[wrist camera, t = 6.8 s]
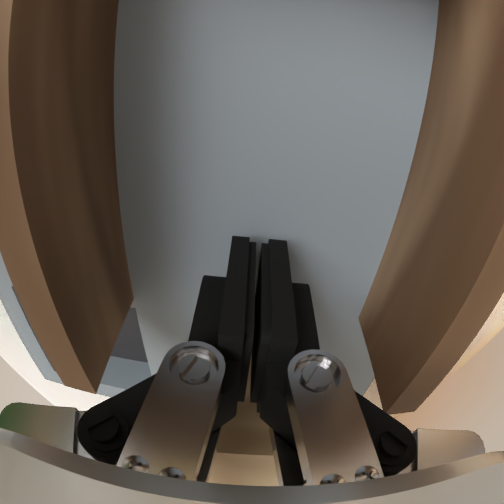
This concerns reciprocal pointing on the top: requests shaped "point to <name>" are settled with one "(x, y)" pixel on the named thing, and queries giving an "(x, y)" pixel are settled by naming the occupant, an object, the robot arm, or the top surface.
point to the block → (245, 449)
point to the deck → (257, 158)
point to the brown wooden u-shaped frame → (109, 216)
